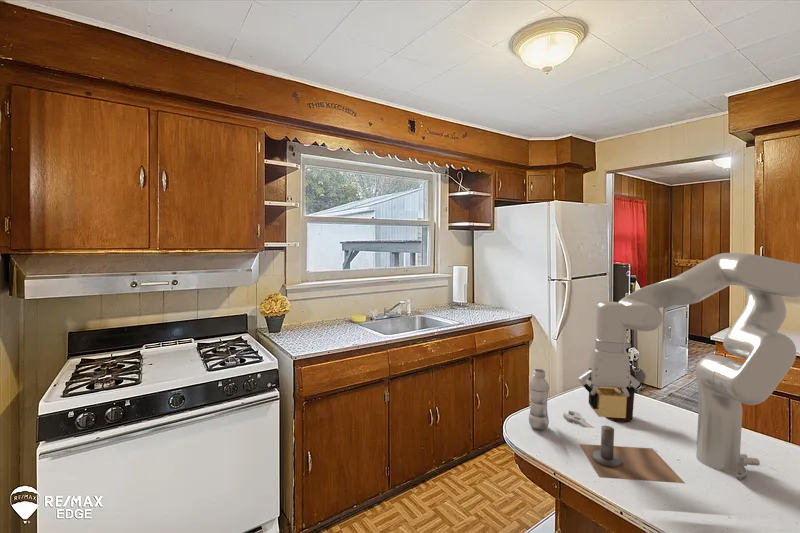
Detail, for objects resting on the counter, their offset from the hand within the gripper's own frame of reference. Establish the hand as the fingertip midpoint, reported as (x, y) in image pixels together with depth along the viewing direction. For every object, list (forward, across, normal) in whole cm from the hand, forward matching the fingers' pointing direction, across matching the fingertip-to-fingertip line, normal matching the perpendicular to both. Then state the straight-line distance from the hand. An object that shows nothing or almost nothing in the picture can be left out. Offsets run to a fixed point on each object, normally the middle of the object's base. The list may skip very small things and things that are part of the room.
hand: (607, 407), depth 112 cm
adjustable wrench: (+18, -2, -21) cm, 28 cm away
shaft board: (+17, -6, 0) cm, 18 cm away
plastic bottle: (+17, +14, -21) cm, 31 cm away
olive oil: (+17, -16, -33) cm, 41 cm away
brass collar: (+1, 0, 0) cm, 1 cm away
